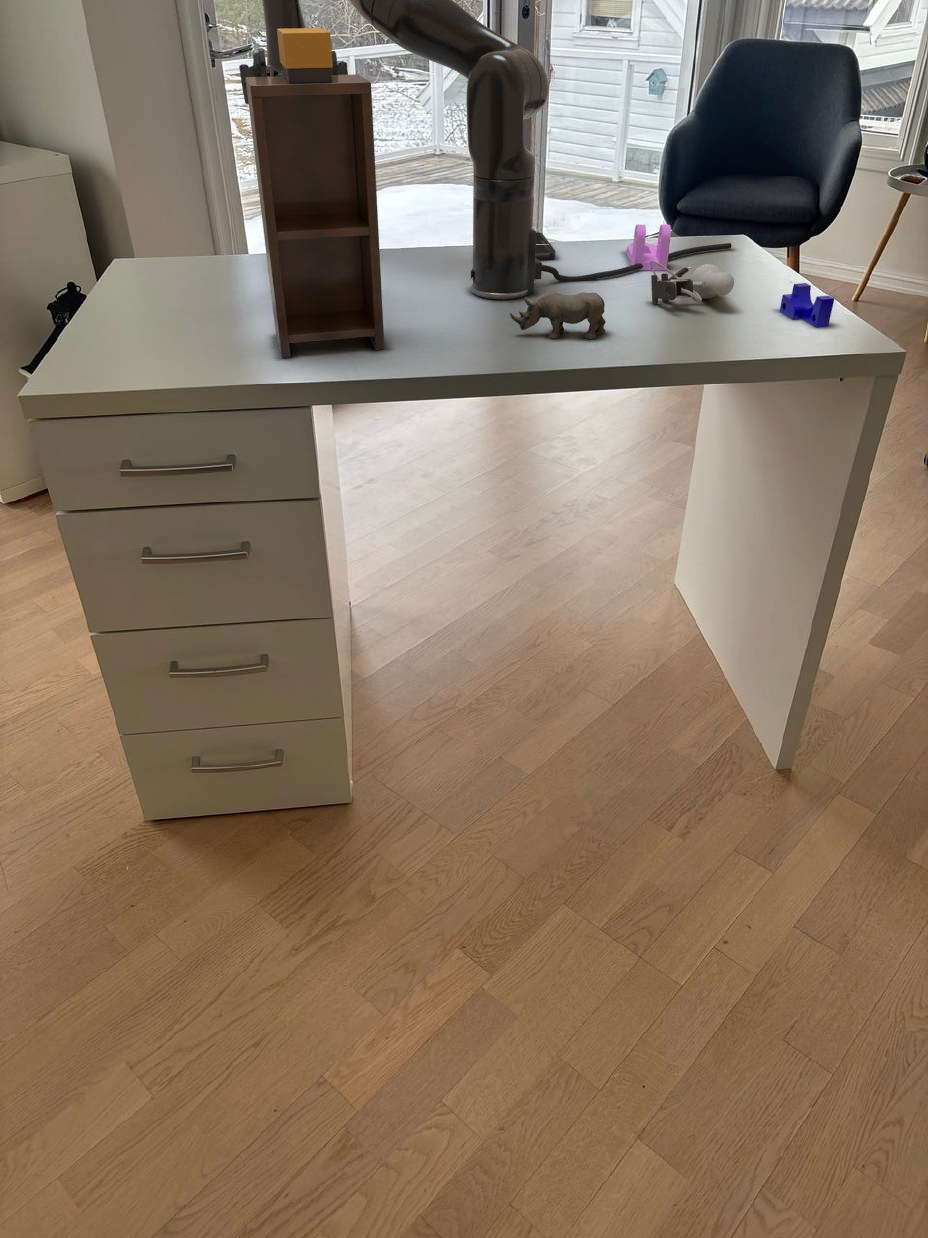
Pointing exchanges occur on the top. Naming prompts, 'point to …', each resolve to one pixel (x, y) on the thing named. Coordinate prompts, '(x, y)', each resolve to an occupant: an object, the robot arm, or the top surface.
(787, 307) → the cable holder
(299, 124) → the shelf
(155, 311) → the top surface
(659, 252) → the bracket
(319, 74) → the brush
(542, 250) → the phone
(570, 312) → the rhino figurine
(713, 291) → the clip-on lamp
